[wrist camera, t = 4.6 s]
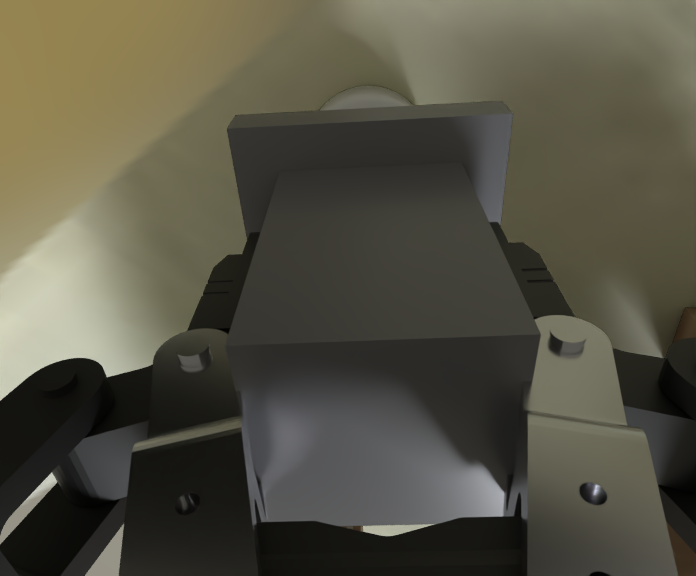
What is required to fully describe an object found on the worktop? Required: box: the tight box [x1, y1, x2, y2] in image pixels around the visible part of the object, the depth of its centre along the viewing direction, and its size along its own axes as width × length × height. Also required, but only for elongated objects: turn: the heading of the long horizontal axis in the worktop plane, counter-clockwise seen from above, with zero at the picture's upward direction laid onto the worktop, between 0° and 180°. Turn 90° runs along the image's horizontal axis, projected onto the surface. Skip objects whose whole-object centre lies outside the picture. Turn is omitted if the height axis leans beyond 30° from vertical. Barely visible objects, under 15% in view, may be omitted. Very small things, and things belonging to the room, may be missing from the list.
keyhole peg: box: [225, 86, 541, 526], centre depth 13 cm, size 6×6×13 cm
